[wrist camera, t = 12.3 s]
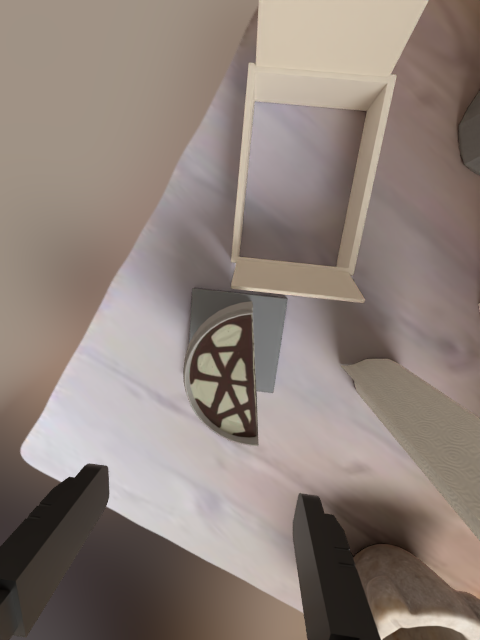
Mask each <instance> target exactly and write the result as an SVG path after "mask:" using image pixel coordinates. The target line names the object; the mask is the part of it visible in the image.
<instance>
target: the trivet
mask: <svg viewBox="0 0 480 640" xmlns="http://www.w3.org/2000/svg"><path fill="white" fill-rule="evenodd" d="M287 300H288V299H287V298H282V297H273V296H263V295H254V294H245V293H236V292H227V291H218V290H208V289H199V288H193V289H192V301H191V320H190V339H189V343H190V341H191V339H192V337H193V335H194V334H195V332H196V331H197V330H198V328H199V327H200V326H201V325H202V324H203V323H204V322H205V321H206V320H207V319H208V318H209V317H211V316H212V315H214V314H215V313H216V312H218V311H220V310H222V309H224V308H226V307H228V306H231V305H235V304H238V303H242V302H250V301H252V304H253V320H254V344H255V367H256V391H260V392H268V393H273V392H274V385H275V379H276V372H277V365H278V359H279V352H280V346H281V339H282V333H283V326H284V320H285V313H286V307H287Z"/></svg>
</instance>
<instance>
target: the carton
mask: <svg viewBox="0 0 480 640" xmlns="http://www.w3.org/2000/svg"><path fill="white" fill-rule="evenodd" d="M428 1H429V0H259V9H258V29H257V50H256V63H249V66H248V77H247V89H246V100H245V111H244V122H243V133H242V144H241V155H240V166H239V177H238V188H237V200H236V211H235V222H234V233H233V244H232V255H231V262H233V263H236V267H235V271H234V275H233V279H232V283H231V289H239V290H248V291H257V292H267V293H276V294H285V295H294V296H304V297H313V298H322V299H331V300H340V301H350V302H359V303H364V302H365V299H364V297H363V295H362V294H361V292H360V291H359V289H358V287H357V286H356V284H355V282H354V281H353V279H352V278H351V276H350V275H353V274H354V270H355V265H356V260H357V256H358V251H359V247H360V242H361V237H362V233H363V228H364V224H365V219H366V214H367V210H368V205H369V201H370V196H371V191H372V187H373V182H374V178H375V173H376V168H377V164H378V159H379V155H380V150H381V145H382V141H383V136H384V132H385V127H386V122H387V118H388V113H389V109H390V104H391V99H392V95H393V90H394V86H395V81H396V76H397V75H393V74H391V73H392V71H393V69H394V67H395V65H396V63H397V61H398V59H399V57H400V55H401V53H402V51H403V49H404V47H405V45H406V43H407V41H408V39H409V38H410V36H411V34H412V32H413V30H414V28H415V26H416V24H417V22H418V20H419V18H420V16H421V14H422V12H423V10H424V8H425V6H426V4H427V3H428ZM255 101H257V102H268V103H280V104H291V105H303V106H314V107H326V108H337V109H349V110H360V111H367V113H366V118H365V123H364V128H363V133H362V138H361V143H360V148H359V153H358V158H357V163H356V168H355V173H354V178H353V183H352V188H351V193H350V199H349V204H348V209H347V214H346V219H345V224H344V229H343V234H342V239H341V244H340V249H339V254H338V259H337V264H336V267H332V266H323V265H313V264H304V263H294V262H285V261H275V260H265V259H256V258H246V257H239V256H240V246H241V235H242V225H243V215H244V205H245V195H246V185H247V174H248V164H249V154H250V144H251V134H252V123H253V113H254V103H255Z"/></svg>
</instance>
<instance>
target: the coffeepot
mask: <svg viewBox="0 0 480 640" xmlns="http://www.w3.org/2000/svg"><path fill="white" fill-rule="evenodd" d="M458 140H459V150H460V154H461V157H462V159H463V161H464V165H465V166H466V167H468V168H469V169H470V170H471V171H473V172H474V173H476V174H478V175H480V91H479V92H478V94H477V95H476V97H475V98H474V100H473V101H472V103H471V104H470V106H469V107H468V109H467V111H466V113H465V115H464V117H463V119H462V121H461V123H460V124H459V135H458Z"/></svg>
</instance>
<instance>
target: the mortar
mask: <svg viewBox="0 0 480 640" xmlns="http://www.w3.org/2000/svg"><path fill="white" fill-rule="evenodd" d="M353 559H354V562H355V567H356V569H357V571H358V574H359V577H360V580H361V583H362V586H363V588H364V591H365V594H366V597H367V600H368V603H369V606H370V609H371V612H372V615H373V618H374V621H375V624H376V627H377V630H378V633H379V635H380V638H381V640H480V600H479V599H478V598H476V597H475V596H473V595H472V594H470V593H467V592H462V591H456V590H454V589H453V588H451V587H450V586H449V585H448V584H447V583H446V582H445V581H444V580H442V579H441V578H440V577H439V576H438V575H437V574H436V573H435V572H434V571H433V570H431V569H430V568H429V567H428V566H427V565H426V564H424V563H423V562H422V561H421V560H420V559H418V558H417V557H416V556H414V555H413V554H411V553H410V552H408V551H406V550H404V549H402V548H400V547H397V546H394V545H389V544H375V545H372V546H369V547H367V548H365V549H363V550H361V551H360V552H359V553H357V554H356V555H355V556H354V558H353Z"/></svg>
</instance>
